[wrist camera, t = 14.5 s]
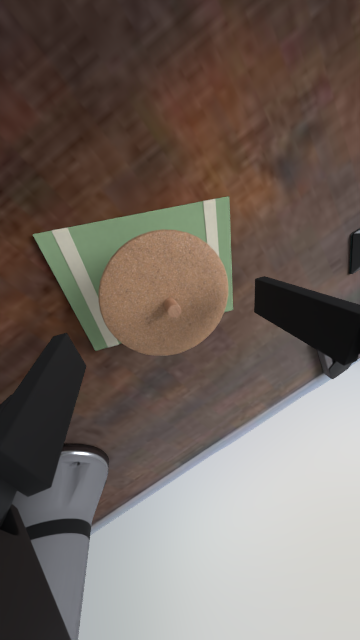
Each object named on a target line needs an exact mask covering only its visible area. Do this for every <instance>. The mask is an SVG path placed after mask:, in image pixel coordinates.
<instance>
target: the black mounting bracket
mask: <svg viewBox="0 0 360 640" xmlns="http://www.w3.org/2000/svg"><path fill="white" fill-rule="evenodd" d="M358 270H360V229H358V230H356V231H355V232H353V233H352V234H351V245H350V269H349V273H350V274H353V273H355V272H356V271H358Z"/></svg>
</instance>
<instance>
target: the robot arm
mask: <svg viewBox="0 0 360 640" xmlns="http://www.w3.org/2000/svg"><path fill="white" fill-rule="evenodd" d="M254 312H255V313H257V314H258V315H260V316H262V317H263V318H265V319H267V320H268V321H270V322H272V323H273V324H275V325H277V326H278V327H280V328H282V329H283V330H285V331H287V332H288V333H290V334H292V335H293V336H295V337H297V338H298V339H300V340H302V341H303V342H305V343H307V344H308V345H310V346H312V347H313V348H315V349H317V350H318V351H320V352H322V353H323V354H325V355H327V356H328V357H330V358H332V359H333V360H335V361H337V362H338V363H340V364H342V365H343V366H345V365H348V364H350V363H352V362H355V361H357V359H358V356H359V354H360V305H359V304H355V303H352V302H349V301H345V300H342V299H338V298H335V297H332V296H328V295H325V294H322V293H318V292H315V291H312V290H308V289H305V288H302V287H298V286H295V285H292V284H288V283H285V282H282V281H278V280H275V279H272V278H268V277H265V276H264V277H260V278H257V279H255V307H254ZM85 369H86V364H85V363H84V361H83V359H82V358H81V356H80V354H79V353H78V351H77V349H76V348H75V346H74V344H73V343H72V341H71V339H70V338H69V336H68V334H67V333H64V334H60V335H57V336H53V338H52V339H51V340H50V342H49V343H48V345H47V346H46V348H45V349H44V350H43V352H42V353H41V355H40V356H39V358H38V359H37V360H36V362H35V363H34V365H33V366H32V368H31V369H30V370H29V372H28V373H27V375H26V376H25V378H24V379H23V381H22V382H21V383H20V385H19V386H18V388H17V389H16V391H15V392H14V393H13V395H10V396H9V397H8V398H7V399H6V400H5V401H4V402H3V403H2V404H1V405H0V640H78V634H79V626H80V616H81V608H82V600H83V592H84V583H85V575H86V565H87V558H88V549H89V540H90V532H91V524H92V519H93V516H94V513H95V510H96V507H97V504H98V501H99V499H100V496H101V493H102V490H103V488H104V486H105V483H106V478H107V475H108V467H109V459H108V456H107V455H106V454H105V453H104V452H103V451H102V450H100V449H98V448H96V447H93V446H89V445H82V444H68V445H64V441H65V438H66V434H67V431H68V428H69V424H70V421H71V417H72V414H73V410H74V407H75V403H76V400H77V397H78V393H79V390H80V386H81V383H82V379H83V376H84V372H85Z"/></svg>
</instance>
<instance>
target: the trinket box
mask: <svg viewBox="0 0 360 640" xmlns="http://www.w3.org/2000/svg"><path fill="white" fill-rule="evenodd" d="M227 299H228V279H227V274H226V271H225V267H224V265H223V263H222V261H221V259H220V258H219V256H218V255H217V253H216V252H215V251H214V250H213V249H212V248H211V247H210V246H209V245H208V244H207V243H206V242H204V241H203V240H201V239H200V238H198V237H196V236H194V235H192V234H189V233H187V232H182V231H178V230H164V229H163V230H156V231H150V232H147V233H144V234H141V235H138V236H136V237H135V238H133V239H131V240H129V241H128V242H126V243H125V244H124V245H123V246H121V247H120V248H119V249H118V250H117V251H116V253H115V254H114V255H113V256H112V257H111V259H110V260H109V262H108V264H107V265H106V267H105V269H104V272H103V274H102V277H101V280H100V285H99V307H100V312H101V315H102V318H103V320H104V322H105V324H106V326H107V328H108V329H109V331H110V332H111V333H112V334H113V335H114V337H115V338H116V339H117V340H119V341H120V342H121V343H122V344H124V345H125V346H127V347H129V348H130V349H132V350H135V351H137V352H140V353H144V354H147V355H156V356H166V355H172V354H177V353H181V352H184V351H186V350H188V349H190V348H192V347H194V346H196V345H198V344H199V343H200V342H202V341H203V340H204V339H205V338H206V337H208V336H209V335H210V334H211V333H212V331H213V330H214V329H215V328H216V326H217V325H218V323H219V322H220V320H221V318H222V316H223V313H224V311H225V308H226V305H227Z"/></svg>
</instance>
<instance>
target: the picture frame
mask: <svg viewBox="0 0 360 640" xmlns="http://www.w3.org/2000/svg"><path fill="white" fill-rule="evenodd" d="M317 351H318V350H317ZM318 355H319V358H320V362H321V365H322V368H323V372H324V374H326V375H327V376H328V377H330V378H331V379H334V378H335V377H337V376H338V375H340V374H341V373H343V372H344V371H345V370H347V369H348V368H349V367H350V365H351V364H352V363H353V362H352V363H350V364H348V365H345V366H343V365H342V364H340V363H338V362H337V361H335V360H333V359H332V358H330V357H328V356H327V355H325V354H323V353H322V352H320V351H318ZM359 358H360V354H359V356H358V359H359Z"/></svg>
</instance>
